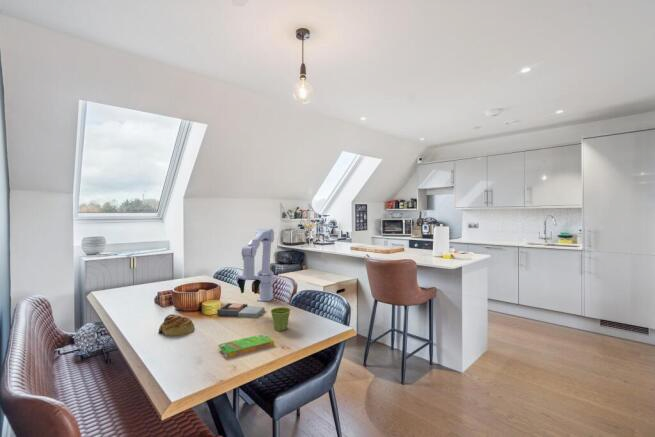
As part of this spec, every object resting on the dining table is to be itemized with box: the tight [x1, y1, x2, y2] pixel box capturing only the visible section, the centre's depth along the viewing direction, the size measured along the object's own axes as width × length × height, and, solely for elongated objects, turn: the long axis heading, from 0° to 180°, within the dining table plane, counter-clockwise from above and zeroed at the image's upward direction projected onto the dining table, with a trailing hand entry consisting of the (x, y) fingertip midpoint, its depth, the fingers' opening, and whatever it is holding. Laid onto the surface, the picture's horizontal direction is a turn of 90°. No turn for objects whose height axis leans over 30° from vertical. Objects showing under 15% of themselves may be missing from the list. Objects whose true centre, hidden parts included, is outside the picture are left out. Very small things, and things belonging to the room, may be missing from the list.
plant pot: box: [270, 307, 292, 332], centre depth 149 cm, size 9×9×9 cm
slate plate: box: [238, 305, 266, 318], centre depth 170 cm, size 12×10×2 cm
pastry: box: [158, 313, 195, 337], centre depth 146 cm, size 13×15×8 cm
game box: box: [217, 333, 275, 358], centre depth 129 cm, size 3×10×20 cm
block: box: [228, 303, 244, 312], centre depth 173 cm, size 6×6×2 cm
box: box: [216, 302, 248, 318], centre depth 172 cm, size 12×12×3 cm
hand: (249, 293), depth 173 cm, fingers open, 7 cm apart
